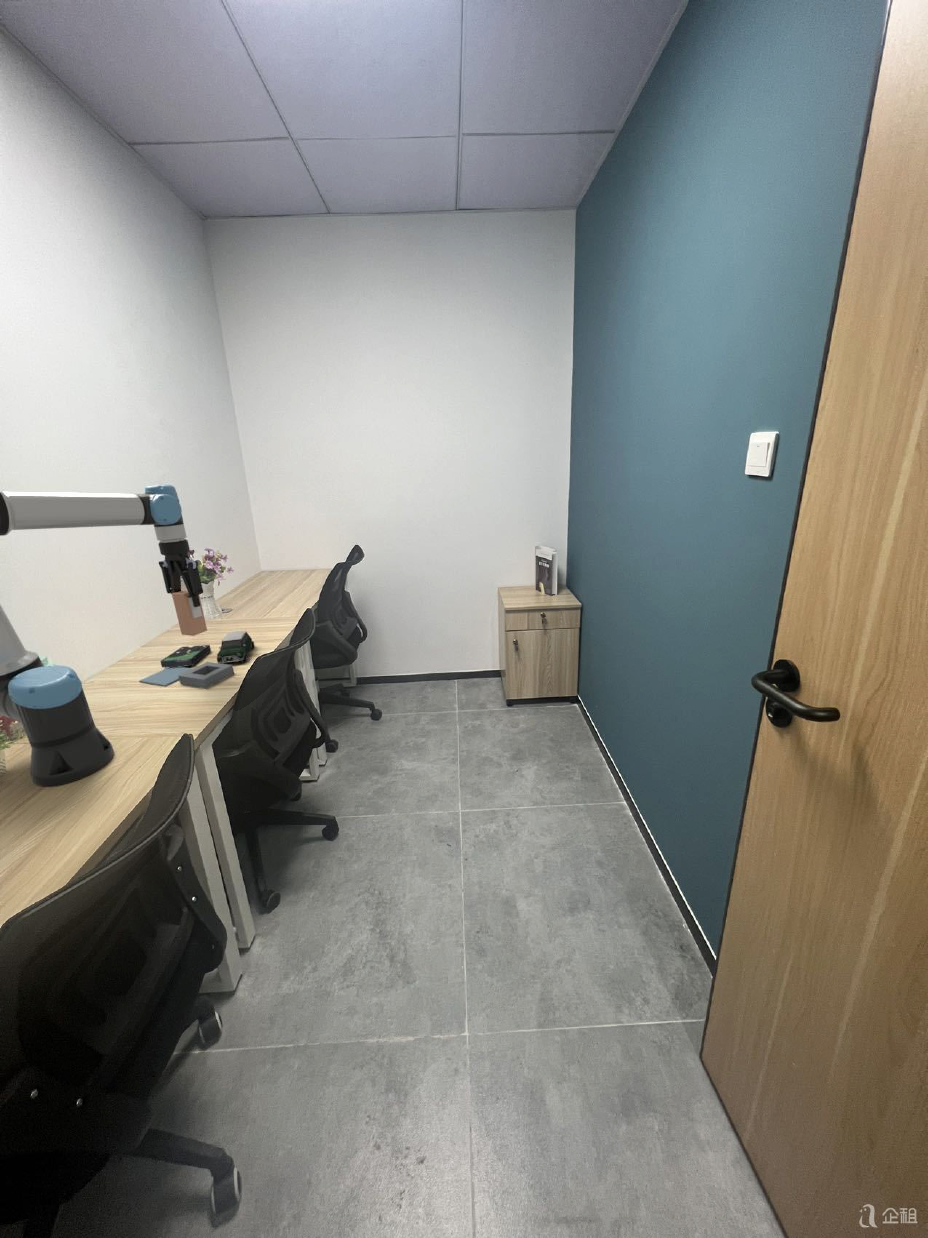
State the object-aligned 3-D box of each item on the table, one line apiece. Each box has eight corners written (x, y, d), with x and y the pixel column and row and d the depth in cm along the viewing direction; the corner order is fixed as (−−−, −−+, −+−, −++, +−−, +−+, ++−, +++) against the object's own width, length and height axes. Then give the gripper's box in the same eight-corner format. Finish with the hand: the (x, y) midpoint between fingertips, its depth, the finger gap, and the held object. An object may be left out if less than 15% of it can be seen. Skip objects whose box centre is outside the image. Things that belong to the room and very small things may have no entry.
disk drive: (183, 653, 178) (161, 668, 164) (181, 646, 178) (159, 660, 163) (211, 651, 179) (192, 666, 164) (210, 644, 178) (190, 658, 164)
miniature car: (217, 668, 163) (211, 646, 161) (230, 649, 180) (225, 629, 177) (245, 665, 165) (240, 643, 162) (256, 646, 181) (251, 626, 179)
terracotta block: (193, 635, 146) (183, 594, 142) (181, 634, 148) (171, 593, 144) (207, 630, 151) (198, 590, 147) (195, 629, 153) (186, 589, 149)
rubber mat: (165, 686, 151) (165, 685, 151) (139, 682, 156) (139, 680, 156) (198, 670, 162) (197, 669, 162) (172, 667, 166) (172, 665, 166)
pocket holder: (206, 688, 148) (203, 679, 147) (180, 684, 152) (178, 675, 151) (234, 673, 158) (232, 665, 157) (209, 670, 162) (207, 661, 161)
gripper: (206, 538, 141) (222, 614, 148) (162, 537, 147) (180, 611, 154) (183, 542, 134) (201, 622, 141) (139, 541, 141) (158, 618, 148)
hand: (190, 616), depth 148 cm, fingers closed on terracotta block, 5 cm apart
